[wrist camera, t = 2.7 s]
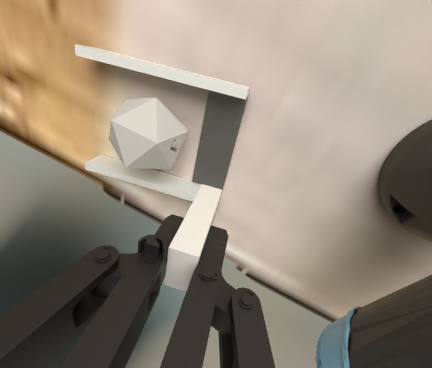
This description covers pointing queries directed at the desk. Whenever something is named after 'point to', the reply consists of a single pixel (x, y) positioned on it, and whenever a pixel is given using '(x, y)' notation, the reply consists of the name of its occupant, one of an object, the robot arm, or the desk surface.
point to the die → (147, 134)
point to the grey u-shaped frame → (210, 137)
